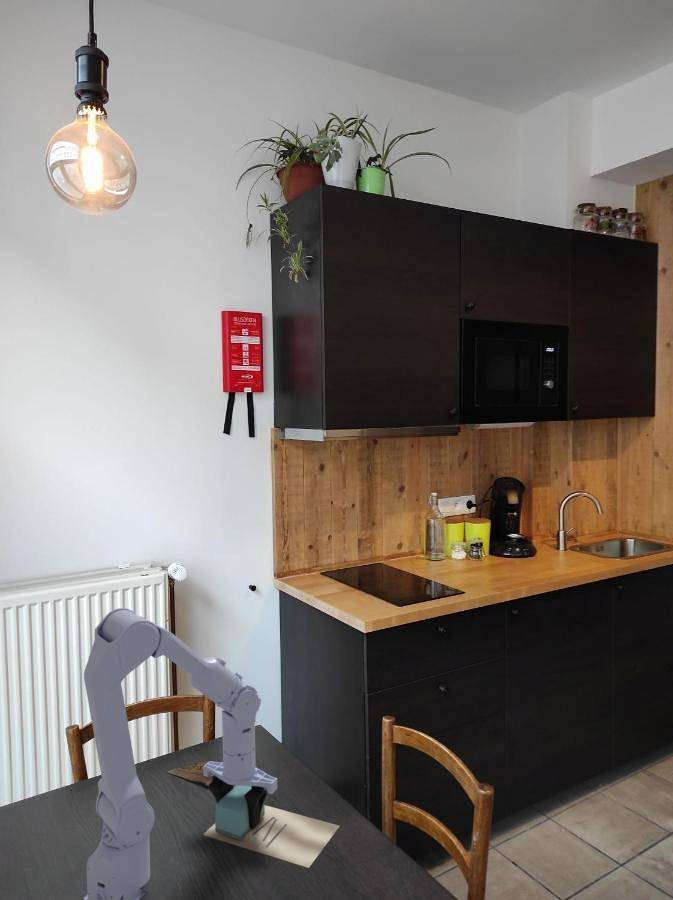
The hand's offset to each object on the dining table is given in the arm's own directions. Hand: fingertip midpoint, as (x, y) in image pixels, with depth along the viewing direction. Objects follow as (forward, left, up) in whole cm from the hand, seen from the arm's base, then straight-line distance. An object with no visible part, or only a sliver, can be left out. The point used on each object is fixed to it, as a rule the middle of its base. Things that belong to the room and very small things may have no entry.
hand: (240, 821), depth 120 cm
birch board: (+1, -6, -2) cm, 6 cm away
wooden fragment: (+14, +13, -3) cm, 19 cm away
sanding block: (0, 0, 0) cm, 0 cm away
